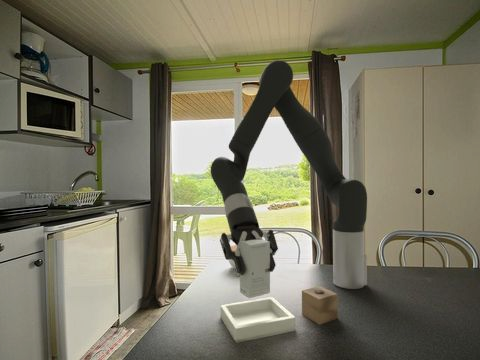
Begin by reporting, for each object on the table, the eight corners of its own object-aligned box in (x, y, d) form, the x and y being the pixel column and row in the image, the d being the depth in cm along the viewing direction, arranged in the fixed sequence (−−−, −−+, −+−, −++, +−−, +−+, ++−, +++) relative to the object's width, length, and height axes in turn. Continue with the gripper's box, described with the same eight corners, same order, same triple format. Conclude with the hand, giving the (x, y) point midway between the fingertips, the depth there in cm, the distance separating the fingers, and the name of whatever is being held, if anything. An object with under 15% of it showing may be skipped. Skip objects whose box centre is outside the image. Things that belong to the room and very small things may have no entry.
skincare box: (249, 299, 66) (249, 245, 65) (238, 292, 69) (238, 241, 69) (271, 293, 69) (271, 241, 69) (259, 287, 73) (259, 238, 73)
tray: (272, 308, 77) (272, 296, 77) (295, 330, 66) (295, 317, 66) (220, 317, 72) (220, 305, 72) (236, 343, 61) (235, 328, 61)
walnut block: (319, 309, 77) (319, 285, 77) (337, 318, 71) (337, 293, 71) (302, 314, 74) (301, 290, 74) (319, 324, 68) (319, 298, 68)
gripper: (216, 206, 74) (231, 267, 63) (269, 204, 78) (291, 260, 67) (211, 224, 79) (224, 283, 68) (261, 221, 83) (280, 276, 72)
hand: (257, 271), depth 68 cm, fingers closed on skincare box, 6 cm apart
